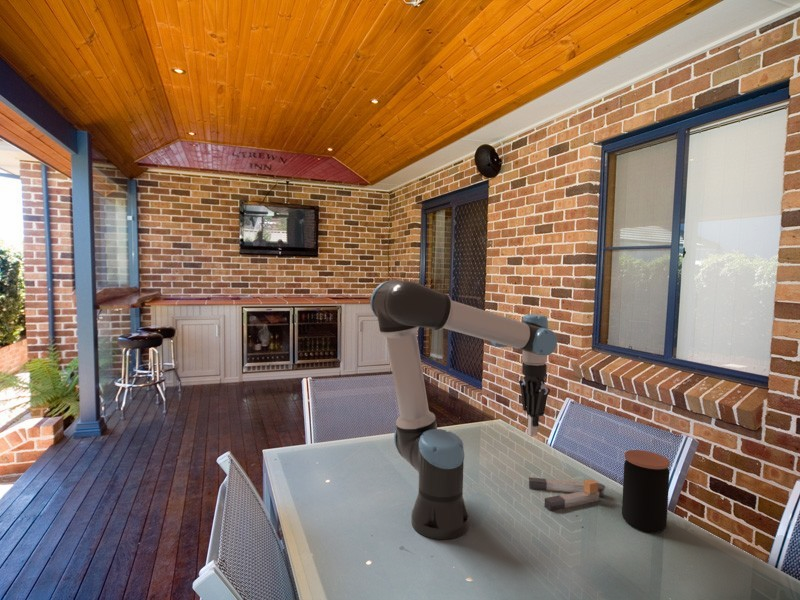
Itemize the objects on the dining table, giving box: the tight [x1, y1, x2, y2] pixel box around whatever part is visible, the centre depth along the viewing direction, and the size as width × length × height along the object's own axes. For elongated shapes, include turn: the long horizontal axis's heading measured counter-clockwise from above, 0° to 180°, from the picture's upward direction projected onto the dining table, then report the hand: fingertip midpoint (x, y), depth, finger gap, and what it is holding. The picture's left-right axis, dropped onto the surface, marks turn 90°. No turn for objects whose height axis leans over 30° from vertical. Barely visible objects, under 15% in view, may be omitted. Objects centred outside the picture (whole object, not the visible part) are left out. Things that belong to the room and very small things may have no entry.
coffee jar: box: [621, 449, 671, 534], centre depth 121 cm, size 11×11×18 cm
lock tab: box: [583, 478, 599, 494], centre depth 133 cm, size 3×2×3 cm
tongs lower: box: [543, 482, 606, 512], centre depth 133 cm, size 22×5×3 cm, turn 111°
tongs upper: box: [528, 477, 584, 493], centre depth 139 cm, size 18×2×2 cm, turn 81°
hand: (532, 434), depth 146 cm, fingers closed
